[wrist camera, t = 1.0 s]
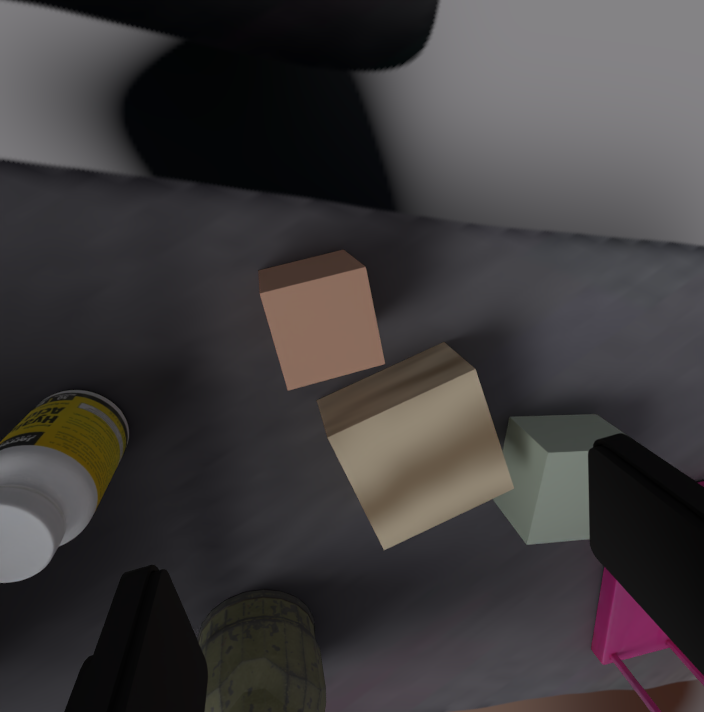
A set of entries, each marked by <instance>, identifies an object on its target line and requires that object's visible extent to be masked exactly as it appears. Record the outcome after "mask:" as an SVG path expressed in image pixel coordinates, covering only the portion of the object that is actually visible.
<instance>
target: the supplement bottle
mask: <svg viewBox="0 0 704 712" xmlns="http://www.w3.org/2000/svg"><path fill="white" fill-rule="evenodd" d="M128 440H129V428H128V424H127V421H126V418H125V416H124V415H123V413H122V412H121V410H120V409H119V408H118V407H117V406H116V405H115V404H114V403H112V402H111V401H110V400H108V399H107V398H105V397H103V396H101V395H99V394H96V393H93V392H89V391H84V390H68V391H62V392H59V393H56V394H53V395H51V396H49V397H47V398H46V399H44V400H43V401H41V402H40V403H39V404H38V405H37V406H36V407H35V408H34V409H33V410H32V411H31V412H30V413H29V414H28V415H27V416H26V417H25V418H24V419H23V420H22V421H21V422H20V423H19V424H18V425H17V426H16V427H15V428H14V429H13V430H12V431H11V432H10V433H9V434H8V435H7V436H6V437H5V438H4V439H3V440H2V441H1V442H0V583H10V582H17V581H21V580H24V579H27V578H30V577H32V576H34V575H35V574H37V573H39V572H40V571H41V570H43V569H44V568H45V567H46V566H47V565H48V563H49V562H50V561H51V559H52V557H53V556H54V554H55V552H56V550H57V548H58V547H59V546H61V545H63V544H65V543H67V542H69V541H71V540H72V539H74V538H75V537H76V536H77V535H79V534H80V533H81V532H82V531H83V530H84V528H85V527H86V526H87V525H88V523H89V522H90V520H91V518H92V517H93V515H94V513H95V511H96V509H97V507H98V505H99V503H100V501H101V499H102V497H103V495H104V492H105V490H106V488H107V486H108V484H109V483H110V481H111V479H112V476H113V474H114V472H115V470H116V468H117V466H118V464H119V462H120V460H121V458H122V456H123V454H124V452H125V449H126V447H127V444H128Z"/></svg>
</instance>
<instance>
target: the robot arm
mask: <svg viewBox="0 0 704 712" xmlns="http://www.w3.org/2000/svg"><path fill="white" fill-rule="evenodd" d="M588 484H589V535H590V546H591V549H592V551H593V553H594V555H595V557H596V558H597V559H598V560H599V561H600V563H601V564H602V565H603V566H604V567H605V568H606V569H607V570H608V571H609V572H610V574H611V575H612V576H613V577H614V578H615V579H616V580H617V581H618V582H619V583H620V585H621V586H622V587H623V588H624V589H625V590H626V591H627V592H628V593H629V594H630V595H631V597H632V598H633V599H634V600H635V601H636V602H637V603H638V604H639V605H640V606H641V608H642V609H643V610H644V611H645V612H646V613H647V614H648V615H649V616H650V617H651V619H652V620H653V621H654V622H655V623H656V624H657V625H658V626H659V627H660V628H661V630H662V631H663V632H664V633H665V634H666V635H667V636H668V637H669V638H670V639H671V641H672V642H673V643H674V644H675V645H676V646H677V647H678V648H679V649H680V650H681V652H682V653H683V654H684V655H685V656H686V657H687V658H688V659H689V660H690V661H691V663H692V664H693V665H694V666H695V667H696V668H697V669H698V670H699V671H700V672H701V673H702V675H703V676H704V487H703V486H702V485H700V484H699V483H697V482H696V481H694V480H693V479H691V478H690V477H688V476H687V475H685V474H684V473H682V472H681V471H679V470H678V469H676V468H675V467H673V466H672V465H670V464H669V463H667V462H666V461H664V460H663V459H661V458H660V457H658V456H657V455H656V454H654V453H653V452H651V451H650V450H648V449H647V448H645V447H644V446H642V445H641V444H639V443H638V442H636V441H635V440H633V439H632V438H630V437H629V436H627V435H625V434H623V433H618V434H615V435H611V436H608V437H604V438H601V439H597V440H596V441H595V442H594V444H593V448H591V449H589V451H588ZM207 684H208V668H207V662H206V659H205V656H204V654H203V652H202V650H201V647H200V645H199V643H198V640H197V638H196V636H195V633H194V631H193V629H192V626H191V624H190V622H189V619H188V617H187V615H186V613H185V610H184V608H183V606H182V603H181V601H180V599H179V596H178V594H177V592H176V589H175V587H174V585H173V582H172V580H171V578H170V576H169V573H168V572H167V570H165V569H163V570H160V571H159V570H158V568H157V567H156V566H155V565H150V566H146V567H143V568H139V569H136V570H132V571H129V572H125V573H124V574H123V575H122V577H121V579H120V582H119V585H118V588H117V590H116V593H115V596H114V599H113V601H112V604H111V607H110V610H109V613H108V615H107V618H106V621H105V624H104V627H103V629H102V632H101V635H100V638H99V641H98V643H97V646H96V649H95V652H94V654H93V655H92V656H89V657H88V658H87V659H86V660H85V661H84V663H83V665H82V667H81V669H80V672H79V674H78V677H77V680H76V682H75V685H74V688H73V690H72V693H71V696H70V698H69V701H68V704H67V706H66V709H65V712H205V703H206V694H207Z"/></svg>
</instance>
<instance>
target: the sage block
mask: <svg viewBox="0 0 704 712" xmlns="http://www.w3.org/2000/svg"><path fill="white" fill-rule="evenodd" d="M618 433H623V432H622V431H620V430H619V429H617V428H616V427H614V426H613V425H611V424H610V423H609V422H607V421H606V420H604V419H603V418H601V417H600V416H598V415H597V414H581V415H549V416H517V417H509V422H508V427H507V432H506V437H505V442H504V447H503V455H504V458H505V461H506V464H507V467H508V471H509V474H510V477H511V480H512V483H513V486H514V489H512V490H510V491H508V492H506V493H504V494H502V495H500V496H498V497H495V498H493V500H494V502H495V503H496V504H497V506H498V507H499V508H500V510H501V511H502V512H503V514H504V515H505V516H506V518H507V519H508V520H509V522H510V523H511V524H512V526H513V527H514V528H515V530H516V531H517V532H518V534H519V535H520V536H521V538H522V539H523V540H524V542H525V543H526V545H530V544H541V543H552V542H563V541H574V540H585V539H590V535H589V484H588V451H589V449H591V448H593V444H594V442H595V441H596V440H597V439H601V438H604V437H608V436H611V435H615V434H618ZM623 434H625V433H623ZM625 435H626V434H625Z"/></svg>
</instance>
